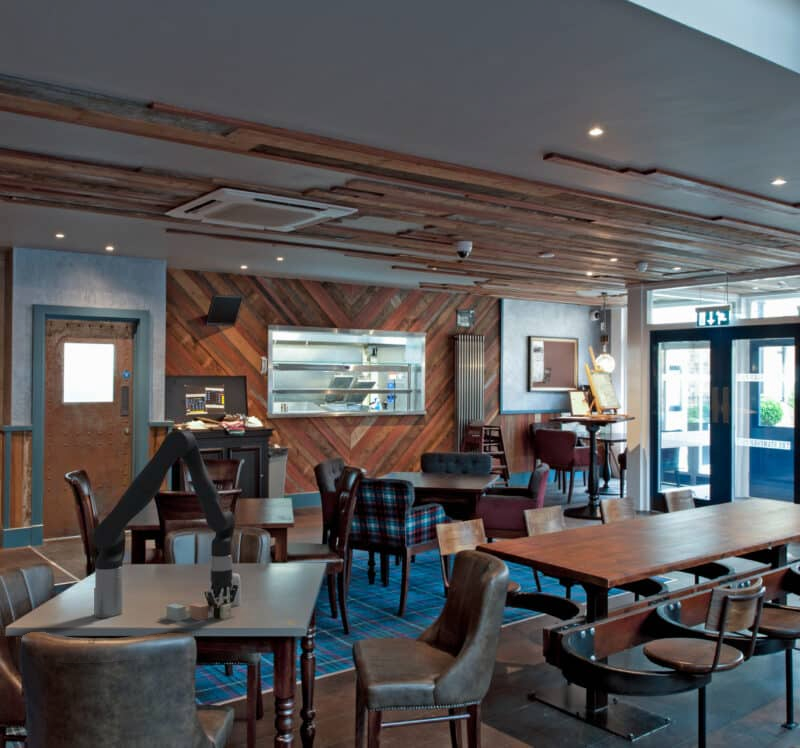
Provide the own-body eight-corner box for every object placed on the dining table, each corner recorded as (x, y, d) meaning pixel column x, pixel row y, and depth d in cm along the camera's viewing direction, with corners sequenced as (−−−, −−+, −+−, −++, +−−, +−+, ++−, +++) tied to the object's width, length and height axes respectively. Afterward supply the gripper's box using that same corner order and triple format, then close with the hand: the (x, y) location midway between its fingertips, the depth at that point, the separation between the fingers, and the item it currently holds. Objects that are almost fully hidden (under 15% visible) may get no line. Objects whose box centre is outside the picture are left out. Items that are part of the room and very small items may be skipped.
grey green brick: (166, 618, 278) (166, 605, 278) (174, 616, 281) (174, 603, 281) (177, 621, 274) (177, 608, 274) (185, 619, 277) (185, 606, 277)
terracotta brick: (189, 617, 279) (189, 604, 279) (197, 615, 282) (197, 602, 282) (200, 620, 275) (200, 607, 275) (208, 618, 278) (208, 605, 278)
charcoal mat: (157, 620, 277) (157, 619, 277) (198, 609, 292) (198, 607, 292) (194, 631, 265) (194, 629, 265) (235, 618, 280) (235, 616, 280)
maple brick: (212, 616, 280) (212, 603, 280) (219, 614, 283) (219, 601, 283) (223, 619, 276) (223, 606, 277) (231, 617, 279) (231, 604, 279)
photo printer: (212, 608, 293) (212, 574, 293) (213, 604, 297) (213, 571, 298) (240, 607, 294) (240, 573, 294) (241, 604, 298) (241, 571, 299)
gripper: (229, 562, 288) (229, 610, 287) (198, 569, 276) (198, 619, 276) (243, 565, 283) (243, 614, 283) (212, 572, 272) (212, 623, 272)
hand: (221, 616), depth 280 cm, fingers closed on maple brick, 3 cm apart
